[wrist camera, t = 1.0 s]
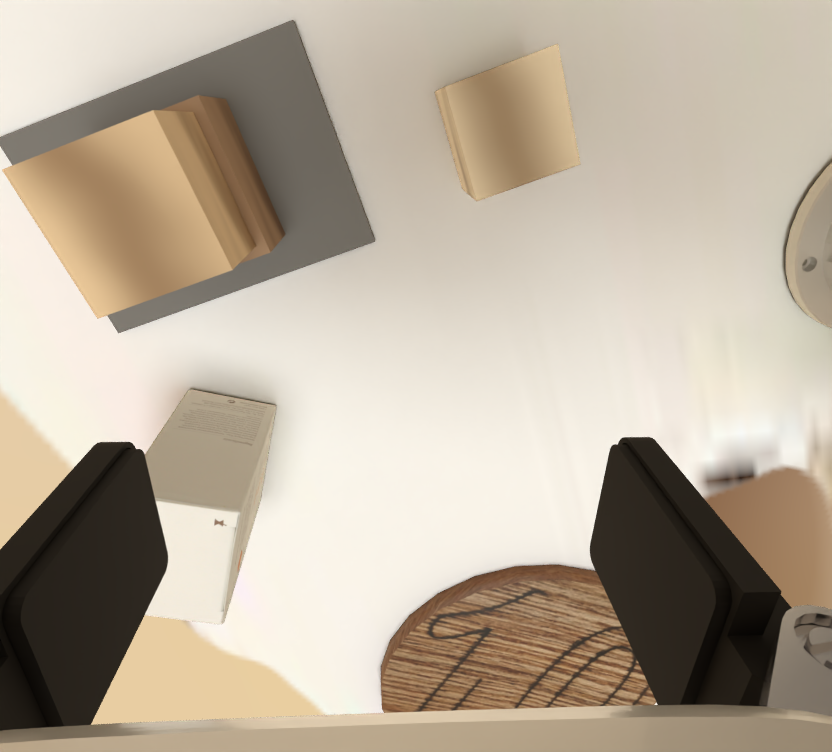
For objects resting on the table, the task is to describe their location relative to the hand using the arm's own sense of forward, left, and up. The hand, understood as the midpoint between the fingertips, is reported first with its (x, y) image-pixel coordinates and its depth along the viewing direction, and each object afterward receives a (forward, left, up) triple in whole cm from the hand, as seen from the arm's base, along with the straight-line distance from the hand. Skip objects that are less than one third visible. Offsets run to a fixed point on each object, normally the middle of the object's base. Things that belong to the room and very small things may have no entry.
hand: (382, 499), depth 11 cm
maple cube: (-8, -4, -22) cm, 24 cm away
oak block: (+8, -6, -17) cm, 20 cm away
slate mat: (+8, -6, -22) cm, 24 cm away
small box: (+14, +9, -22) cm, 28 cm away
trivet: (+1, +39, -23) cm, 45 cm away
